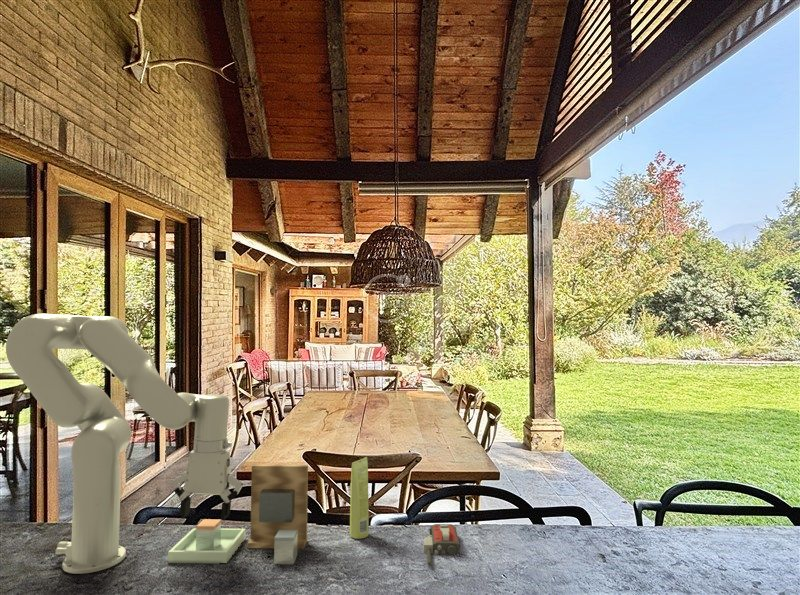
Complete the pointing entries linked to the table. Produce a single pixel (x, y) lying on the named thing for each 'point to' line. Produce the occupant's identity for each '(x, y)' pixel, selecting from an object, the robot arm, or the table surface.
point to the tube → (359, 500)
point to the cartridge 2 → (285, 546)
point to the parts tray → (188, 553)
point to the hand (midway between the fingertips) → (205, 516)
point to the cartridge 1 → (208, 535)
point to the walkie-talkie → (441, 541)
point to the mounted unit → (278, 503)
